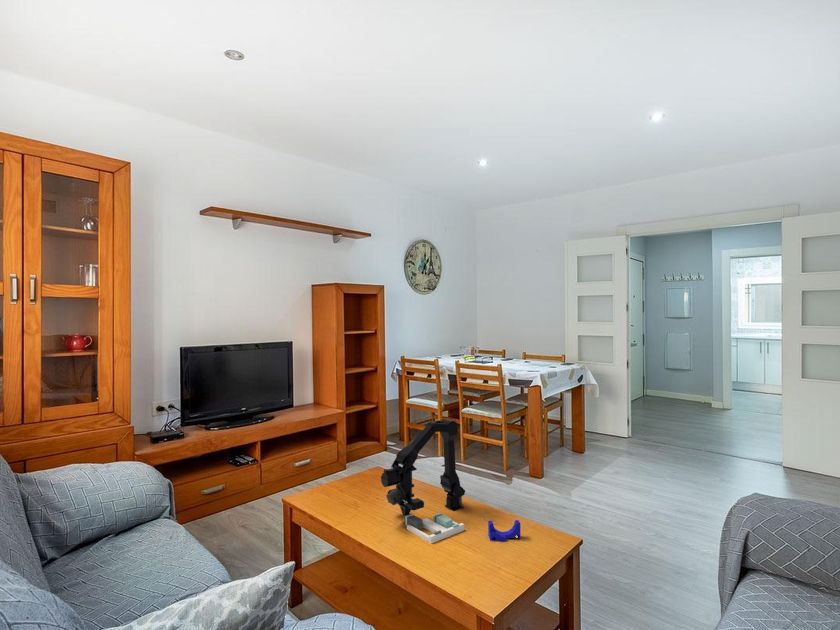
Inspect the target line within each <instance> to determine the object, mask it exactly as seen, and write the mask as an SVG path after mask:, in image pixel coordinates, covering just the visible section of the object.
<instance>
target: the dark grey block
mask: <svg viewBox="0 0 840 630" xmlns="http://www.w3.org/2000/svg"><path fill="white" fill-rule="evenodd" d="M403 524H404V525H405V526H407V525H411V526H413V527H415V528H416V529H418V530H420V531H421V530H423V529H424V527H423V519H421V517H418V516H416V515H414V514H413V513H409V514H408V515H405V516H404V518H403Z"/></svg>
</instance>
